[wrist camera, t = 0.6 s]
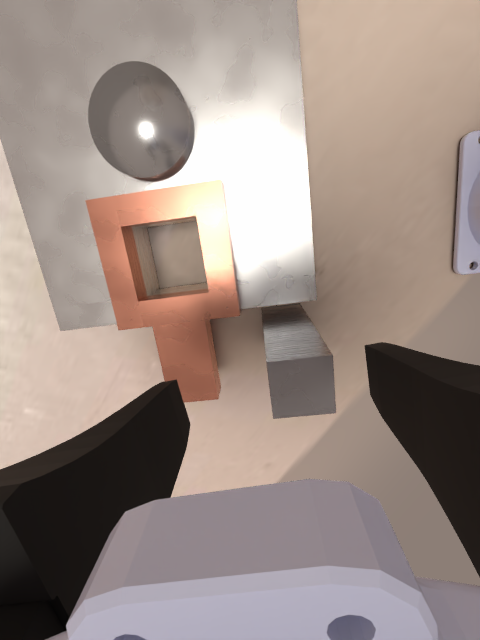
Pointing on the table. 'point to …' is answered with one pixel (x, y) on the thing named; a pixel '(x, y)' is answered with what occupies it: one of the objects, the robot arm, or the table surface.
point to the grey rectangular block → (297, 364)
